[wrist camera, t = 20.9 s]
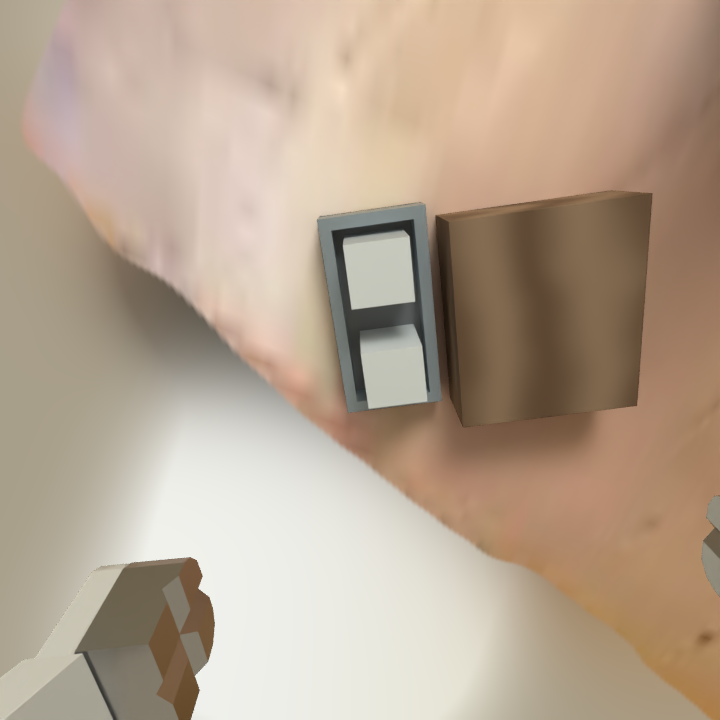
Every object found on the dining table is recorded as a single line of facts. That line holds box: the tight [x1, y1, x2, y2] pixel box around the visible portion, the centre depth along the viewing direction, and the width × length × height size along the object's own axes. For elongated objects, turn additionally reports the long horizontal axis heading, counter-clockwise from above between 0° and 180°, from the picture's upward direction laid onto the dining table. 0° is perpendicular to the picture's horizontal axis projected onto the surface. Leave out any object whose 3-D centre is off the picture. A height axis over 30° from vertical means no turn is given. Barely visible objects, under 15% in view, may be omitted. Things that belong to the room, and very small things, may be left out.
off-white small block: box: [360, 324, 427, 409], centre depth 35 cm, size 4×4×5 cm
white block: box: [343, 228, 415, 310], centre depth 32 cm, size 4×4×5 cm
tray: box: [317, 202, 442, 413], centre depth 35 cm, size 7×14×2 cm, turn 8°
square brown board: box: [436, 191, 652, 427], centre depth 34 cm, size 12×14×5 cm
